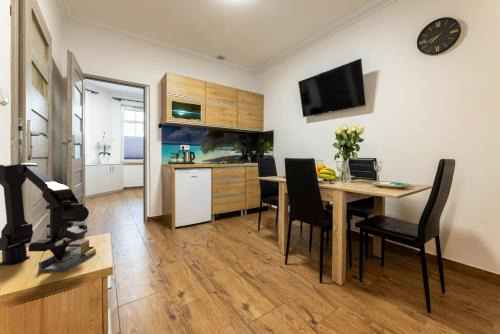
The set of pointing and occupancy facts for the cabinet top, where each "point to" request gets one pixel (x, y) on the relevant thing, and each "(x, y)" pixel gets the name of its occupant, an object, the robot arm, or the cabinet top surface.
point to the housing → (81, 245)
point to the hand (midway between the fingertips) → (59, 260)
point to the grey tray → (64, 262)
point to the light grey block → (70, 253)
